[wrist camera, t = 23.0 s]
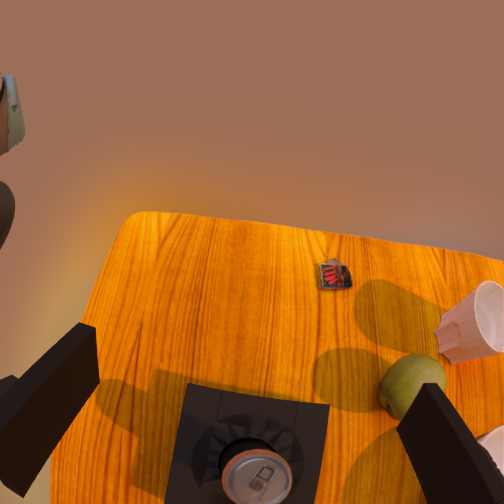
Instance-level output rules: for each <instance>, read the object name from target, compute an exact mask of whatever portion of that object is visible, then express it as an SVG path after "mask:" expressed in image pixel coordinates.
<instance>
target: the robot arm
mask: <svg viewBox="0 0 504 504" xmlns="http://www.w3.org/2000/svg"><path fill="white" fill-rule="evenodd" d="M24 136H25V126H24V120H23V116H22V110H21V106H20V101H19V96H18V91H17V86H16V81H15V77H14V75H12V74H10V75H6V76H4V78H3V77H2V75H1V73H0V156H1V155H2V154H4V153H6V152H8V151H9V150H10V149H11V148H12V147H14V146H15V145H17V144H18V143H20V142H21V141H22V140H23V138H24ZM99 383H100V379H99V369H98V358H97V344H96V328H95V327H92V326H89V325H86V324H83V323H80V322H79V323H78V324H77V325H76V326H74V327H73V328H72V329H71V330H70V331H69V332H68V333H67V334H65V336H63V337H62V338H61V339H60V340H59V341H58V342H57V343H56V344H55V345H54V346H52V347H51V348H50V349H49V350H48V351H47V352H46V353H45V354H44V355H43V356H42V357H41V358H40V359H39V360H38V361H37V362H36V363H34V364H33V365H32V366H31V367H30V368H29V369H28V370H27V371H26V372H25V373H24V374H23V375H22V376H21V377H20V378H19V379H18V378H16V377H15V376H13V375H10V376H8V377H5V378H3V379H1V380H0V480H1V482H2V483H3V484H4V485H5V486H6V487H7V488H9V489H10V490H12V491H13V492H15V493H16V494H18V495H19V496H21V497H22V498H24V496H25V494H26V493H27V491H28V489H29V488H30V486H31V484H32V483H33V481H34V480H35V478H36V476H37V475H38V473H39V472H40V470H41V469H42V467H43V465H44V464H45V462H46V461H47V459H48V458H49V456H50V455H51V453H52V452H53V450H54V449H55V447H56V446H57V444H58V442H59V441H60V439H61V438H62V436H63V435H64V433H65V432H66V431H67V429H68V428H69V426H70V425H71V423H72V422H73V420H74V419H75V417H76V416H77V414H78V413H79V411H80V410H81V409H82V407H83V406H84V404H85V403H86V401H87V400H88V398H89V397H90V396H91V394H92V393H93V391H94V390H95V389H96V387H97V386H98V384H99ZM396 429H397V432H398V434H399V436H400V438H401V440H402V443H403V445H404V447H405V450H406V452H407V454H408V456H409V459H410V461H411V463H412V466H413V468H414V470H415V473H416V475H417V478H418V480H419V482H420V485H421V487H422V490H423V492H424V495H425V497H426V500H427V502H428V504H504V476H503V474H502V473H501V471H500V469H499V468H497V465H496V463H495V461H493V458H492V457H491V455H490V454H489V452H488V450H486V449H485V448H484V447H483V446H482V445H481V444H480V443H478V442H477V441H476V439H475V438H474V436H473V434H472V433H471V431H470V430H469V428H468V427H467V425H466V424H465V422H464V421H463V420H462V418H461V417H460V415H459V414H458V412H457V411H456V409H455V408H454V406H453V405H452V404H451V402H450V401H449V399H448V398H447V396H446V395H445V394H444V392H443V391H442V389H441V388H440V387H439V385H438V384H437V383H423V385H422V387H421V388H420V390H419V392H418V394H417V395H416V397H415V399H414V401H413V402H412V404H411V406H410V407H409V409H408V411H407V412H406V414H405V416H404V417H403V419H402V420H401V422H400V423H399V425H398V427H397V428H396Z"/></svg>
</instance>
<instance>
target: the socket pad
mask: <svg viewBox="0 0 504 504" xmlns="http://www.w3.org/2000/svg"><path fill="white" fill-rule="evenodd" d="M329 408H330V404H318V403H307V402H297V401H288V400H280V399H273V398H266V397H259V396H253V395H246V394H241V393H235V392H230V391H224V390H219V389H214V388H209V387H205V386H200V385H195V384H191V383H188V384H187V389H186V393H185V398H184V403H183V408H182V412H181V417H180V422H179V427H178V432H177V437H176V442H175V447H174V453H173V458H172V463H171V468H170V474H169V479H168V485H167V491H166V496H165V502H164V504H236V503H235V502H234V501H232V500H231V499H230V498H229V497H228V496H227V494H226V493H225V491H224V489H223V484H222V479H221V470H220V468H219V464H218V461H219V455H220V453H221V452H222V451H223V449H224V448H225V446H226V445H228V444H230V443H231V442H233V441H234V440H236V439H241V438H246V437H251V438H258V439H261V440H263V441H265V443H266V444H267V445H268V446H269V447H270V449H271V450H272V451H274V452H275V453H277V454H278V455H279V456H281V457H282V458H283V459H285V461H286V462H287V464H288V465H289V467H290V469H291V474H292V485H291V489H290V491H289V493H288V495H287V497H286V498H284V499H283V500H282V501H281V502H280V503H279V504H314V500H315V495H316V490H317V485H318V480H319V474H320V469H321V463H322V457H323V451H324V445H325V438H326V431H327V424H328V416H329Z"/></svg>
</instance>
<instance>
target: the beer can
mask: <svg viewBox="0 0 504 504" xmlns="http://www.w3.org/2000/svg"><path fill="white" fill-rule="evenodd" d="M220 467H221V479H222V484H223V489H224V491H225V493H226V494H227V496H228V497H229V498H230V499H231V500H232V501H234V502H235V503H236V504H279V503H280V502H281V501H282V500H283V499H284V498H286V497H287V495H288V493H289V491H290V489H291V485H292V474H291V469H290V467H289V465H288V464H287V462H286V461H285V459H283V458H282V457H281V456H279V455H278V454H277V453H275V452H274V451H272V450H271V449H269V448H268V447H266V446H265V445H263V444H261V443H260V442H258V441H256V440H253V439H247V438H243V439H237V440H235V441H233V442H231V443H230V444H228V445H227V446H226V447H225V448H224V450H223V451H222V453H221V458H220Z"/></svg>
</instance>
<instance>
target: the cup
mask: <svg viewBox="0 0 504 504" xmlns="http://www.w3.org/2000/svg"><path fill="white" fill-rule="evenodd" d="M434 333H435V335H436V336H437V340H438V344H439V354H443V355H444V356H445V357H446V358H447V359H449V360H450V363H451V365H454V364H458V363H461V362H465V361H468V360H472V359H477V358H483V357H487V356H491V355H495V354H499V353H503V352H504V289H503V288H502V287H501V286H500V285H499V284H497V283H496V282H493V281H484V282H483V283H481V284H480V285H479V286H478V287H477V288H475V289H474V290H473V291H472V292H471V293H470V294H468V295H467V296H466V297H465V298H464V299H463V300H461V301H460V302H459V303H458V304H456V305H455V306H454V307H452V308H451V309H450V310H449V311H447V312H446V313H445V314H443V315H442V316H441V323H440V325H439V327H438V330H436V331H435V332H434Z"/></svg>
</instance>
